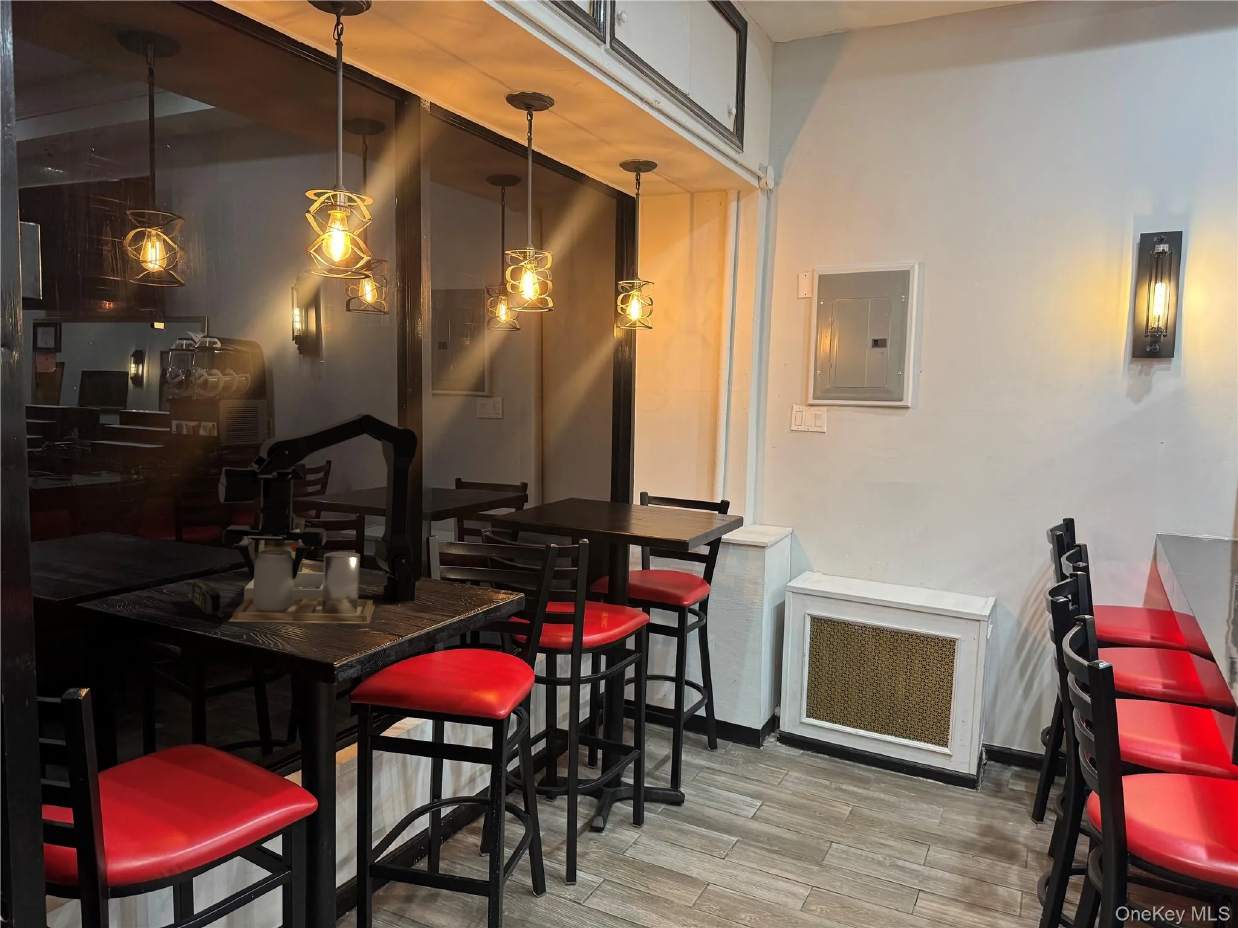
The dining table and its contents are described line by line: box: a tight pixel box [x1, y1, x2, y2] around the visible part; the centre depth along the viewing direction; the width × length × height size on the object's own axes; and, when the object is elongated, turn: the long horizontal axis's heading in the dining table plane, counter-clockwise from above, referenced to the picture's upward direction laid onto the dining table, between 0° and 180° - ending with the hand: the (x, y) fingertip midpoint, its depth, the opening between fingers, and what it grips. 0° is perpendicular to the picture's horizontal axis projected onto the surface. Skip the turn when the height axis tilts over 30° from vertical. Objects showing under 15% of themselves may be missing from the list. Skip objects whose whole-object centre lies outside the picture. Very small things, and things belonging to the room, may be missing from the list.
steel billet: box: [322, 551, 361, 614], centre depth 166 cm, size 7×7×12 cm
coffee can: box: [258, 516, 306, 572], centre depth 197 cm, size 10×10×14 cm
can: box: [253, 549, 295, 613], centre depth 163 cm, size 8×8×12 cm
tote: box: [243, 571, 323, 602], centre depth 179 cm, size 16×16×4 cm
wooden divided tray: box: [228, 597, 376, 624], centre depth 165 cm, size 26×14×3 cm, turn 102°
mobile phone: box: [191, 580, 224, 618], centre depth 166 cm, size 5×3×15 cm
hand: (274, 577), depth 163 cm, fingers closed on can, 7 cm apart
